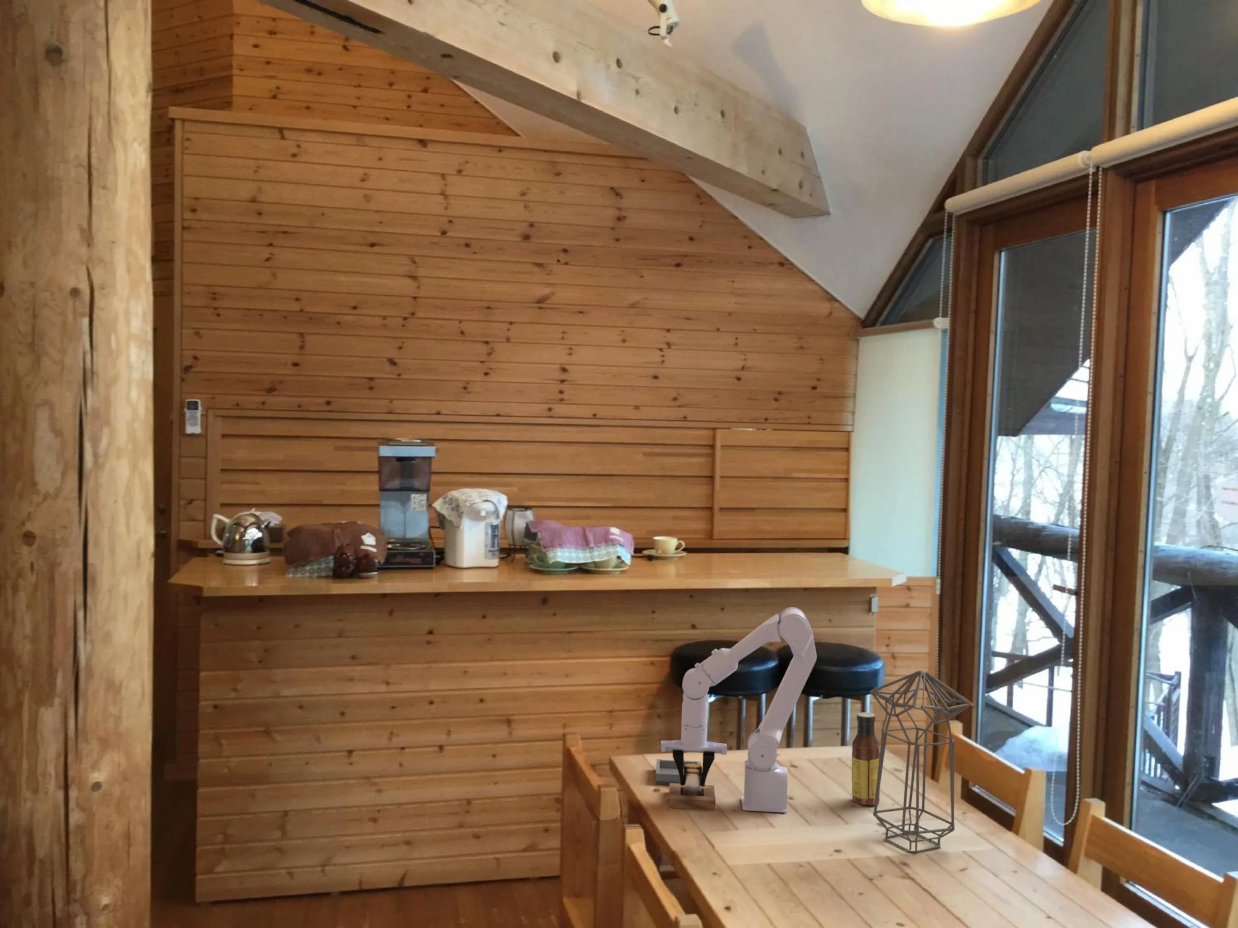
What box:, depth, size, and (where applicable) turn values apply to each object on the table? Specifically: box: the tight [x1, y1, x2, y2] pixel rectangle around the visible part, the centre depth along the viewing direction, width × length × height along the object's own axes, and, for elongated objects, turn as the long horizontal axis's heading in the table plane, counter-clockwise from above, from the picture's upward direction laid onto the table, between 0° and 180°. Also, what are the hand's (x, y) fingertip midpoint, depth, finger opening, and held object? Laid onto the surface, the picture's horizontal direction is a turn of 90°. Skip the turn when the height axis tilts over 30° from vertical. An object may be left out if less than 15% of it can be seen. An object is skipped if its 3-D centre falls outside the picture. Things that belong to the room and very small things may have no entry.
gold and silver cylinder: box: [683, 764, 703, 796], centre depth 225 cm, size 4×4×7 cm
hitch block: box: [668, 783, 717, 811], centre depth 225 cm, size 10×10×2 cm
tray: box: [655, 758, 702, 786], centre depth 240 cm, size 11×11×2 cm
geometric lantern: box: [869, 669, 974, 854], centre depth 205 cm, size 16×16×35 cm
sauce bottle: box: [851, 711, 881, 807], centre depth 228 cm, size 6×6×20 cm
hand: (692, 784), depth 225 cm, fingers closed on gold and silver cylinder, 4 cm apart
